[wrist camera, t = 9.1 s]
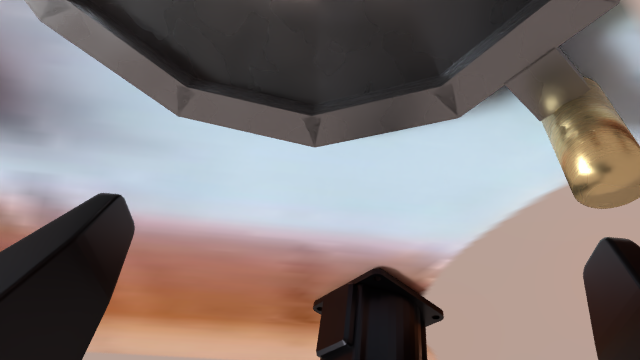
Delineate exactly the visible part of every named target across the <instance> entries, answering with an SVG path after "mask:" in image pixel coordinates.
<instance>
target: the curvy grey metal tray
mask: <svg viewBox="0 0 640 360" xmlns="http://www.w3.org/2000/svg"><path fill="white" fill-rule="evenodd" d="M619 1H620V0H25V2H26V3H27V4H28V6H29V7H30V8H31V10H32V11H33V12H34V14H35V15H36V16H37V18H38V19H39V20H40V21H41V22H42V23H44V24H45V25H47V26H48V27H50V28H51V29H53V30H54V31H55V32H57V33H58V34H60V35H61V36H63V37H64V38H66V39H67V40H68V41H70V42H71V43H73V44H74V45H76V46H77V47H79V48H80V49H82V50H83V51H84V52H86V53H87V54H89V55H90V56H92V57H93V58H95V59H96V60H97V61H99V62H100V63H102V64H103V65H105V66H106V67H108V68H109V69H110V70H112V71H113V72H115V73H116V74H118V75H119V76H121V77H122V78H123V79H125V80H126V81H128V82H129V83H131V84H132V85H134V86H135V87H136V88H138V89H139V90H141V91H142V92H144V93H145V94H147V95H148V96H150V97H151V98H152V99H154V100H155V101H157V102H158V103H160V104H161V105H163V106H164V107H165V108H167V109H168V110H170V111H171V112H173V113H174V114H176V115H177V116H179V117H184V118H188V119H193V120H197V121H201V122H206V123H210V124H214V125H219V126H223V127H228V128H232V129H236V130H241V131H245V132H250V133H254V134H258V135H263V136H267V137H271V138H276V139H280V140H285V141H289V142H293V143H298V144H302V145H307V146H311V147H319V146H324V145H329V144H334V143H339V142H344V141H349V140H354V139H359V138H363V137H368V136H373V135H378V134H383V133H388V132H393V131H398V130H403V129H407V128H412V127H417V126H422V125H427V124H432V123H437V122H442V121H447V120H451V119H456V118H458V117H461V116H462V115H464V114H465V113H466V112H468V111H469V110H471V109H472V108H473V107H475V106H476V105H478V104H479V103H480V102H482V101H483V100H485V99H486V98H487V97H489V96H490V95H492V94H493V93H494V92H496V91H497V90H499V89H500V88H501V87H503V86H504V85H506V86H507V87H508V88H509V89H510V91H511V92H512V93H513V94H514V95H515V96H516V97H517V98H518V99H519V100H520V101H521V102H522V103H523V104H524V105H525V106H526V107H527V108H528V109H529V110H530V111H531V112H532V113H533V114H534V116H535V117H536V118H537V119H538V120H539V121H542V123H543V126H544V128H545V130H546V133H547V135H548V137H549V140H550V142H551V144H552V146H553V149H554V151H555V153H556V156H557V158H558V160H559V163H560V165H561V167H562V170H563V172H564V174H565V177H566V179H567V181H568V184H569V186H570V188H571V190H572V193H573V195H574V197H575V198H576V199H577V201H578V202H580V203H581V204H583V205H585V206H588V207H591V208H599V209H604V208H605V209H606V208H614V207H618V206H622V205H625V204H628V203H630V202H632V201H634V200H636V199H638V198H639V197H640V146H639V144H638V143H637V142H636V140H635V139H634V137H633V136H632V134H631V133H630V131H629V130H628V128H627V127H626V125H625V124H624V122H623V121H622V119H621V118H620V116H619V115H618V113H617V112H616V110H615V109H614V107H613V106H612V104H611V103H610V101H609V100H608V99H607V97H606V96H605V94H604V93H603V91H602V90H601V88H600V87H599V85H598V84H597V83H596V82H595V81H593V80H591V79H589V78H586V77H582V75H581V74H580V72H579V71H578V69H577V68H576V67H575V66H574V65H573V63H572V62H571V61H570V60H569V59H568V58H567V56H566V55H565V54H564V53H563V52H562V50H561V49H560V48H559V46H560V45H561V44H563V43H564V42H566V41H567V40H568V39H570V38H571V37H573V36H574V35H575V34H577V33H578V32H580V31H581V30H582V29H584V28H585V27H586V26H588V25H589V24H591V23H592V22H593V21H595V20H596V19H598V18H599V17H600V16H602V15H603V14H605V13H606V12H607V11H609V10H610V9H612V8H613V7H614V6H616V5H617V4H618V3H619Z"/></svg>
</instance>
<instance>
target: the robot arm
mask: <svg viewBox="0 0 640 360" xmlns="http://www.w3.org/2000/svg"><path fill="white" fill-rule="evenodd" d="M134 230H135V226H134V221H133V219H132V216H131V214H130V211H129V209H128V206H127V204H126V201H125V199H124V198H123V197H122V196H121V195H119V194H110V193H100V194H98V195H96V196H94V197H92V198H91V199H89V200H87V201H86V202H84V203H82V204H80V205H79V206H77V207H75V208H74V209H72V210H70V211H69V212H67V213H65V214H64V215H62V216H60V217H59V218H57V219H55V220H54V221H52V222H50V223H48V224H47V225H45V226H43V227H42V228H40V229H38V230H37V231H35V232H33V233H32V234H30V235H28V236H27V237H25V238H23V239H21V240H20V241H18V242H16V243H15V244H13V245H11V246H10V247H8V248H6V249H5V250H3V251H1V252H0V360H82V358H83V356H84V354H85V352H86V350H87V348H88V346H89V344H90V342H91V340H92V338H93V336H94V334H95V331H96V329H97V327H98V325H99V323H100V321H101V319H102V317H103V315H104V313H105V311H106V308H107V306H108V304H109V302H110V299H111V297H112V294H113V292H114V289H115V286H116V283H117V280H118V278H119V275H120V272H121V269H122V266H123V263H124V261H125V258H126V255H127V252H128V249H129V247H130V244H131V241H132V238H133V235H134ZM583 279H584V285H585V290H586V296H587V302H588V307H589V313H590V319H591V324H592V330H593V336H594V341H595V346H596V351H597V356H598V360H640V247H639V246H638V245H637V244H636V243H634V242H633V241H631V240H629V239H623V238H612V237H606V238H603V239H602V240H600V242H599V243H598V245H597V247H596V248H595V250H594V251H593V253H592V255H591V256H590V258H589V260H588V261H587V263H586V265H585V267H584V272H583ZM313 309H314V311H316V312H317V313H319V314H321V321H320V328H319V335H318V342H317V349H316V353H317V356H318V357H320V360H427V347H426V328H425V327H426V326H429V325H431V324H433V323H436V322H439V321H441V320H442V319H443V318H444V317H443V311H442V310H441V309H440V308H439V307H437V306H436V305H434V304H432V303H431V302H430V301H428V300H427V299H425V298H424V297H422V296H421V295H419V294H418V293H416V292H415V291H413V290H412V289H410V288H409V287H408V286H406V285H405V284H403V283H402V282H400V281H399V280H397V279H396V278H394V277H393V276H391V275H390V274H388V273H387V272H385V271H384V270H382V269H378V268H376V269H372V270H370V271H368V272H367V273H365V274H363V275H361V276H359V277H358V278H356V279H354V280H352V281H350V282H349V283H347V284H345V285H343V286H341V287H340V288H338V289H336V290H334V291H332V292H331V293H329V294H327V295H325V296H323V297H322V298H320V299H318V300H316V301H315V302H314V306H313Z"/></svg>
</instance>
